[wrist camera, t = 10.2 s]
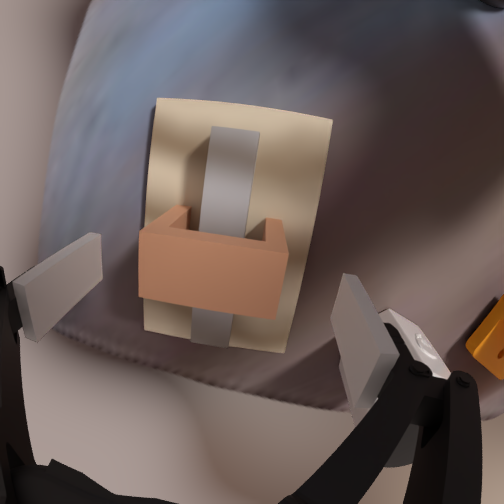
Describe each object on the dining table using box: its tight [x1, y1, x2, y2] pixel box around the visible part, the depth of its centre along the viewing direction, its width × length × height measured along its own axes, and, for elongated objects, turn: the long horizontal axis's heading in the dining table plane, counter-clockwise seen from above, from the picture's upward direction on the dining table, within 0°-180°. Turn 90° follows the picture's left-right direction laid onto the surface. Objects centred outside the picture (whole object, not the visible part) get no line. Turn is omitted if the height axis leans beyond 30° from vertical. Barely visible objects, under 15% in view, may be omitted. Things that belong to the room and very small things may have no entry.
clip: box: [139, 205, 289, 320], centre depth 20 cm, size 4×8×8 cm, turn 82°
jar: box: [339, 309, 451, 467], centre depth 22 cm, size 9×8×12 cm
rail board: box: [143, 98, 333, 353], centre depth 23 cm, size 20×13×4 cm, turn 172°
